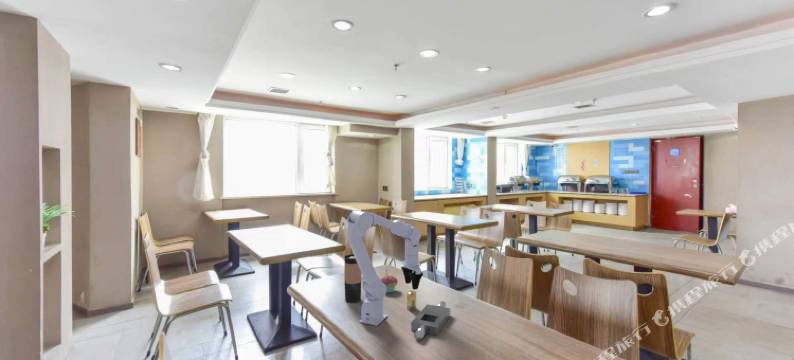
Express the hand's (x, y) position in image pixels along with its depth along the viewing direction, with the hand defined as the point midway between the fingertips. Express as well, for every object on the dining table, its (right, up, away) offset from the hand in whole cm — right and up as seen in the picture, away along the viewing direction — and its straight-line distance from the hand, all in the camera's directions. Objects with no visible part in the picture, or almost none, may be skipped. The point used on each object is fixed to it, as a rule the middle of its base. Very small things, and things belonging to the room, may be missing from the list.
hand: (411, 286), depth 144 cm
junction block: (+7, -10, -13) cm, 18 cm away
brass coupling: (0, -10, 0) cm, 10 cm away
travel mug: (-26, -10, +10) cm, 30 cm away
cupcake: (-10, -9, +21) cm, 25 cm away
